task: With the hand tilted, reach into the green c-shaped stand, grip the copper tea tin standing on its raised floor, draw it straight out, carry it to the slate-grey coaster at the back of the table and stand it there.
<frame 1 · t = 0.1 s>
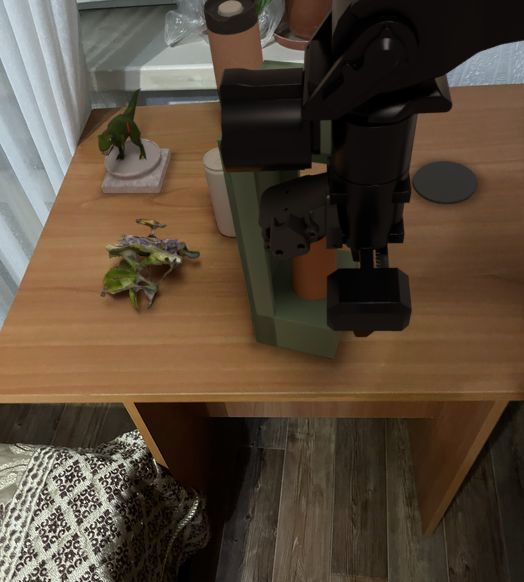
hand: (359, 296, 53), 14 cm above the table, tool pointing down, fingers open, 9 cm apart
travel mug: (247, 131, 94), on the table
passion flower: (154, 287, 76), on the table
coaster: (444, 183, 81), on the table
green c-shaped stand: (315, 314, 70), on the table
dinosaur figurine: (141, 168, 91), on the table
beverage can: (234, 228, 81), on the table
tea tin: (314, 283, 65), point 6 cm above the table, touching green c-shaped stand
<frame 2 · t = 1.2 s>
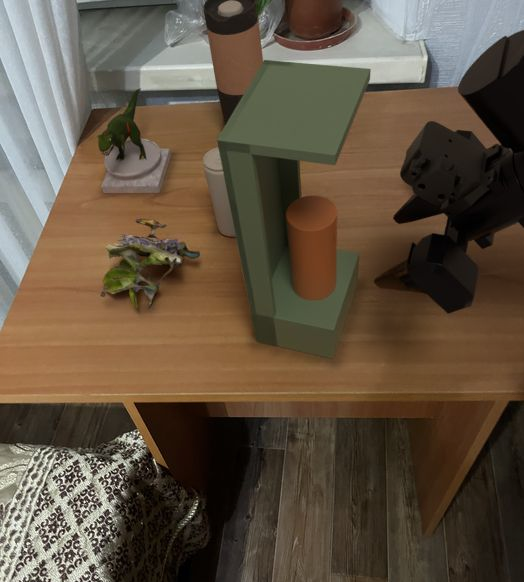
hand: (386, 250, 57), 13 cm above the table, tool tilted 45°, fingers open, 9 cm apart
nothing on the table moved.
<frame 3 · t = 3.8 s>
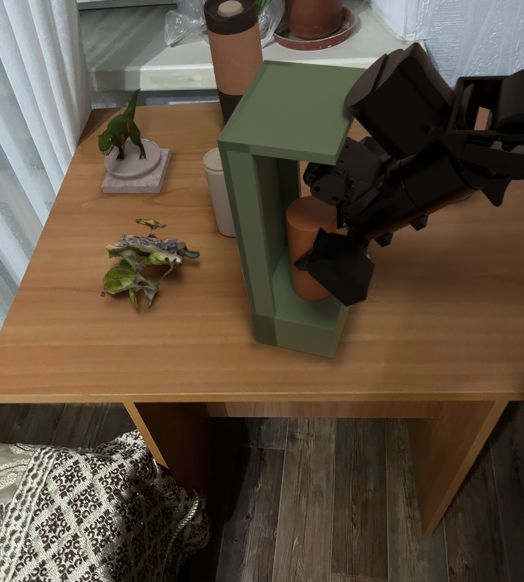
hand: (304, 248, 61), 12 cm above the table, tool tilted 45°, fingers closed on tea tin, 5 cm apart
tea tin: (314, 283, 65), point 6 cm above the table, touching gripper
everything else where it was.
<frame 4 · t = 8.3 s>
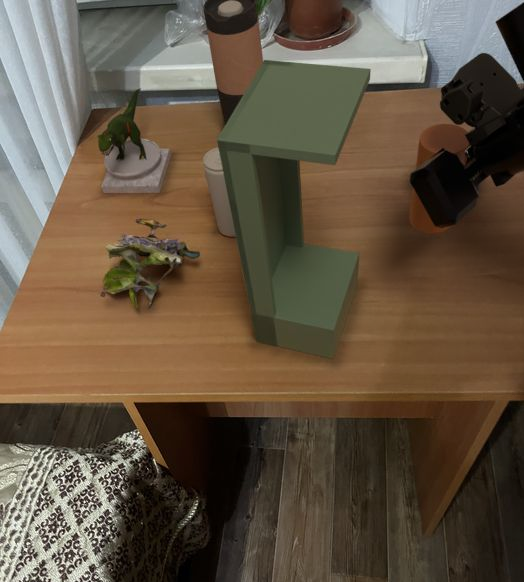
hand: (430, 176, 63), 13 cm above the table, tool tilted 45°, fingers closed on tea tin, 5 cm apart
tea tin: (431, 218, 67), point 8 cm above the table, touching gripper
everything else where it was.
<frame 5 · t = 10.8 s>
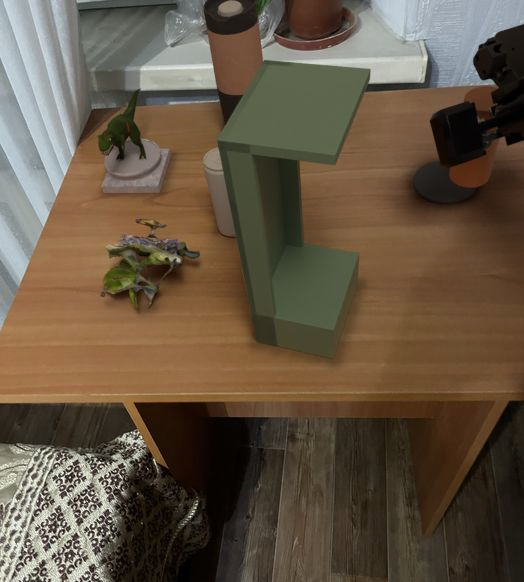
hand: (473, 134, 71), 11 cm above the table, tool tilted 45°, fingers closed on tea tin, 5 cm apart
tea tin: (469, 174, 75), point 5 cm above the table, touching gripper
everything else where it was.
when the fingers open (6 cm above the table, at t = 12.8 s): tea tin stays where it is, resting on coaster.
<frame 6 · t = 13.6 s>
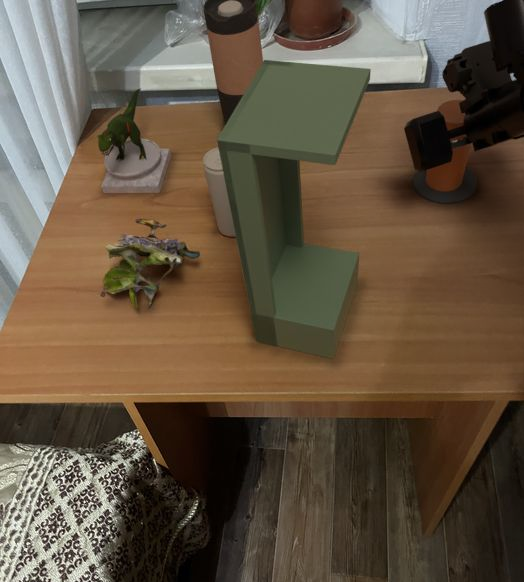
hand: (447, 140, 77), 6 cm above the table, tool tilted 45°, fingers open, 9 cm apart
tea tin: (443, 179, 81), resting on coaster
everything else where it was.
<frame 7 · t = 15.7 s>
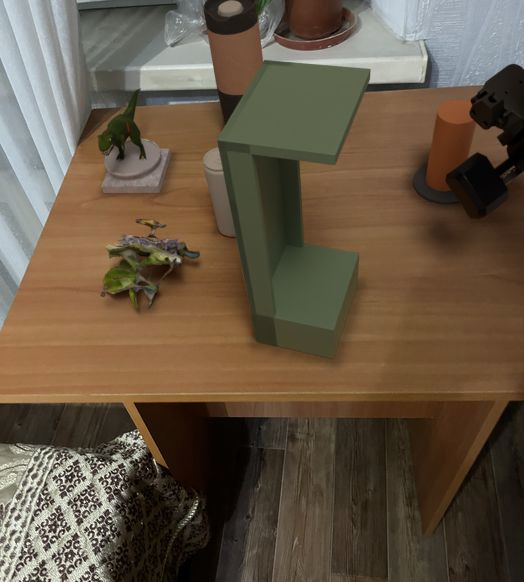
hand: (485, 172, 70), 8 cm above the table, tool tilted 35°, fingers open, 9 cm apart
nothing on the table moved.
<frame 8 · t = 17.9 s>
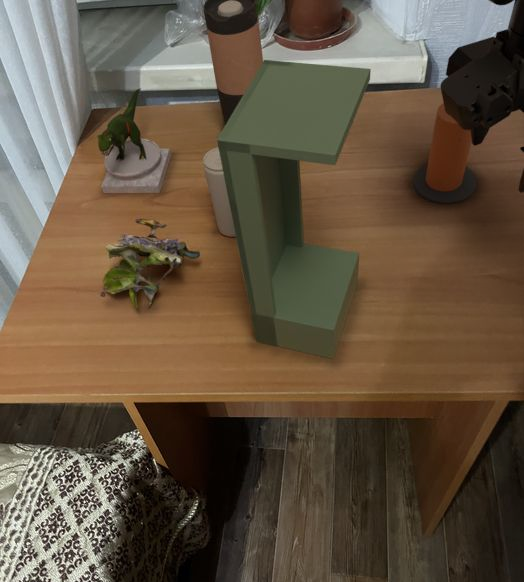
hand: (499, 166, 63), 13 cm above the table, tool pointing down, fingers open, 9 cm apart
nothing on the table moved.
at the end: tea tin 0.4 cm off-centre on the coaster, point 0.4 cm above the coaster's base; tea tin tilted 0°; the gripper is holding nothing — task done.
